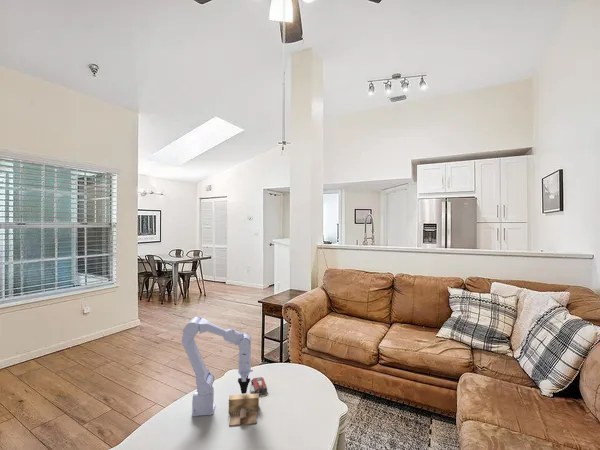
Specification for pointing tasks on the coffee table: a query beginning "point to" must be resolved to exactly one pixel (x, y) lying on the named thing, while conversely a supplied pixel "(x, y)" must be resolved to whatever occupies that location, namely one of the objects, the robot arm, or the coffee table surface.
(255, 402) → the oak bar
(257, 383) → the walkie-talkie
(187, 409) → the coffee table surface
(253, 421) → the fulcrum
